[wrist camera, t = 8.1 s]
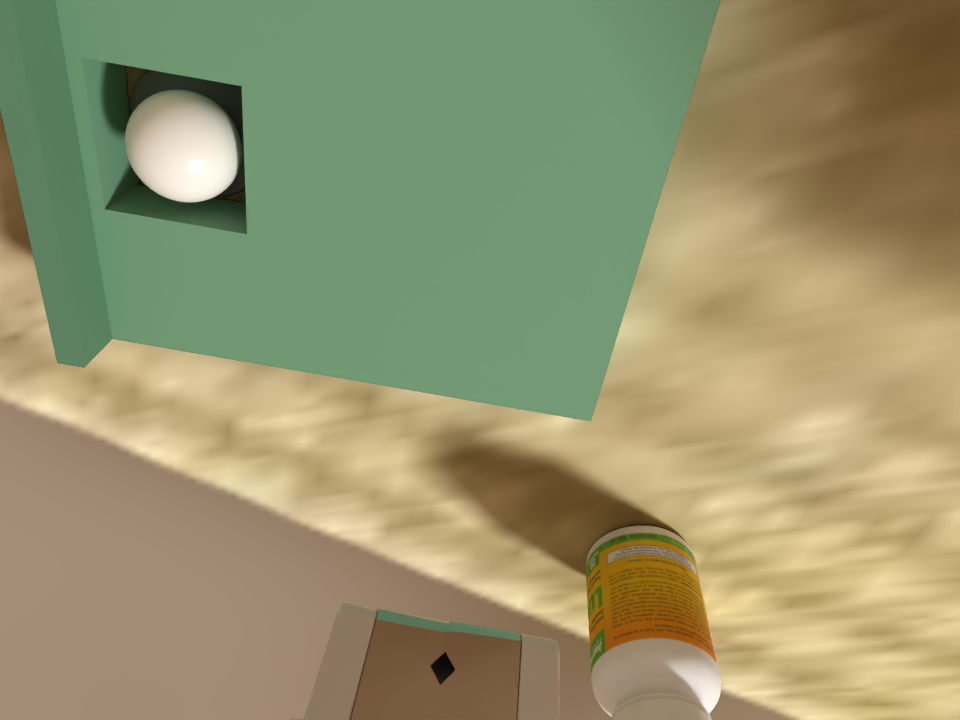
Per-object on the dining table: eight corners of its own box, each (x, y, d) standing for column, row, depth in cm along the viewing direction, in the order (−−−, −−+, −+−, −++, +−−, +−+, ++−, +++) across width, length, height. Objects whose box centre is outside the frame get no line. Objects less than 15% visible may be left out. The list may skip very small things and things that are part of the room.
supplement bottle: (577, 527, 35) (584, 719, 27) (690, 515, 34) (733, 712, 26) (593, 598, 38) (605, 792, 30) (698, 589, 37) (739, 787, 29)
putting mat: (714, -44, 21) (748, -30, 17) (588, 384, 30) (593, 454, 26) (46, -166, 21) (-65, -178, 17) (119, 303, 30) (57, 362, 26)
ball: (263, 100, 23) (163, 115, 21) (265, 204, 25) (174, 229, 23) (194, 71, 25) (93, 82, 22) (202, 171, 27) (110, 191, 24)
